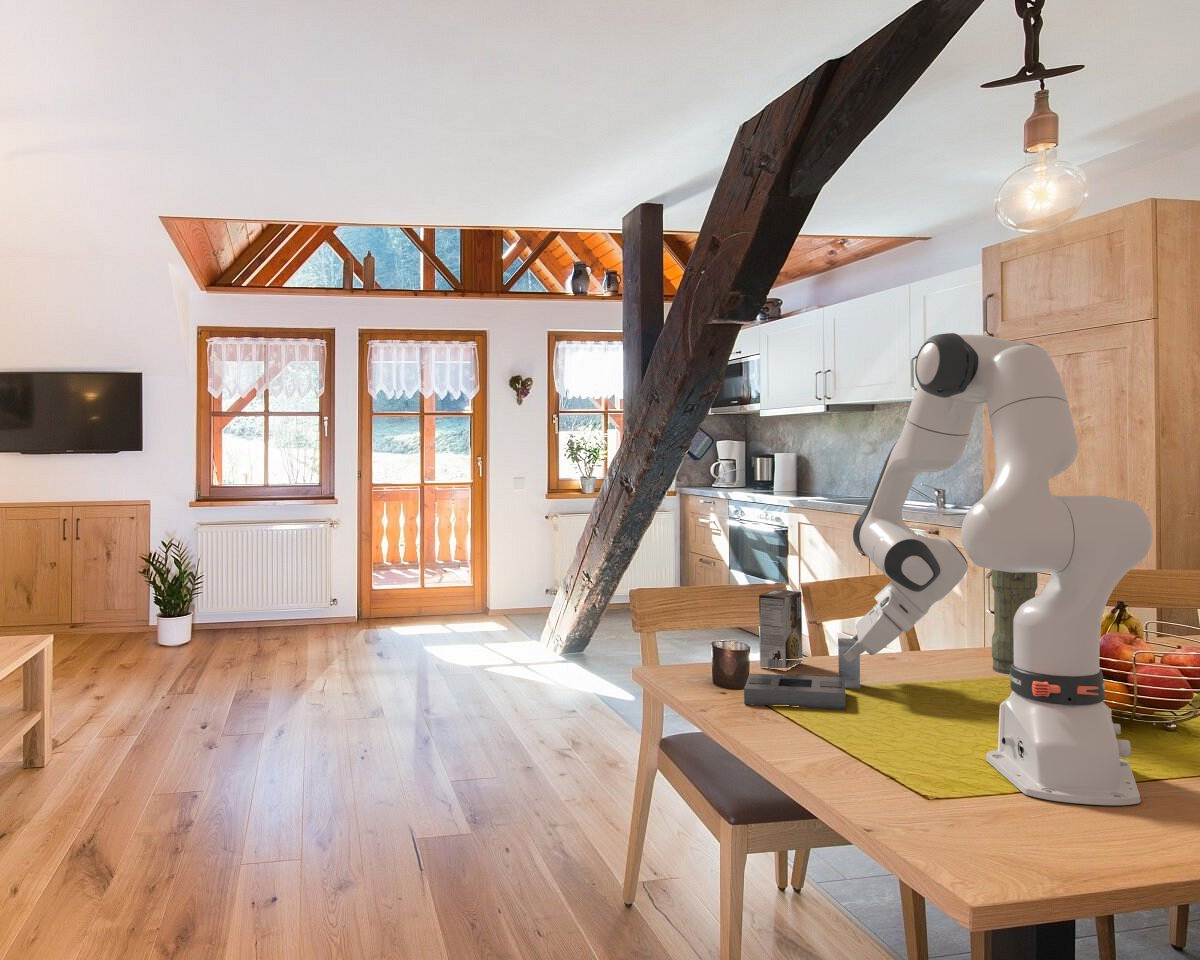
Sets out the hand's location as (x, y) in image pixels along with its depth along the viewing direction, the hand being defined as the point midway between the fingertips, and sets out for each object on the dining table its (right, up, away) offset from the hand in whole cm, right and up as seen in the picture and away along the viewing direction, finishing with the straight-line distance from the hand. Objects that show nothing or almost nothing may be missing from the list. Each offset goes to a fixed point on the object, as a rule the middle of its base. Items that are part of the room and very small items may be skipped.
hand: (845, 656), depth 176 cm
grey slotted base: (-12, -6, -9) cm, 16 cm away
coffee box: (-9, -6, +18) cm, 21 cm away
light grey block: (+1, -6, 0) cm, 6 cm away
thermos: (+39, -5, +11) cm, 40 cm away
